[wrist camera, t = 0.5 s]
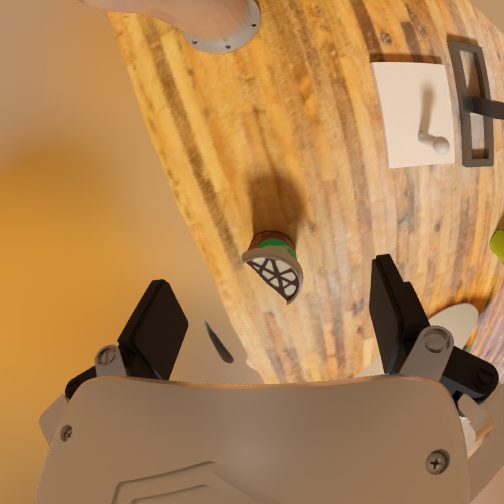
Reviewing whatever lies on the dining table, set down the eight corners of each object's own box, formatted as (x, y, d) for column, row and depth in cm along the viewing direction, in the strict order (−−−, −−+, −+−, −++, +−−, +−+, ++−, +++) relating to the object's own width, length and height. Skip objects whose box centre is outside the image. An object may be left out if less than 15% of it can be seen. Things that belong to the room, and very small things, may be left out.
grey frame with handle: (446, 41, 25) (471, 37, 18) (476, 47, 23) (502, 46, 16) (462, 165, 37) (485, 179, 30) (489, 163, 35) (512, 177, 28)
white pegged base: (369, 63, 31) (390, 57, 24) (440, 65, 28) (470, 64, 20) (386, 166, 40) (407, 184, 33) (450, 160, 37) (478, 177, 29)
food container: (314, 257, 52) (318, 290, 44) (289, 272, 55) (289, 307, 46) (273, 211, 48) (270, 239, 40) (248, 230, 51) (240, 261, 42)
